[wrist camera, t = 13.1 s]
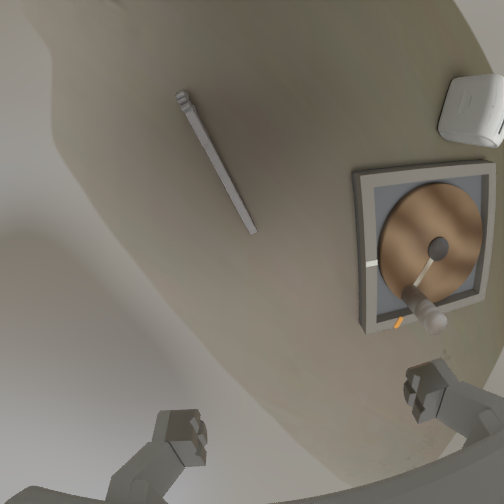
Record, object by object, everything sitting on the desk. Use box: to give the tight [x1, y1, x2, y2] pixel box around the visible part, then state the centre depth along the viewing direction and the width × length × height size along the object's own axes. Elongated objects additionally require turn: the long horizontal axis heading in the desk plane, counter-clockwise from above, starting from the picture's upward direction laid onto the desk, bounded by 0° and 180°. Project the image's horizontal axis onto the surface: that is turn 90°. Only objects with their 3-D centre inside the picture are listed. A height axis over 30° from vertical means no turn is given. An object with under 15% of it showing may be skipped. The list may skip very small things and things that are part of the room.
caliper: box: [175, 90, 258, 234], centre depth 37 cm, size 20×1×6 cm, turn 25°
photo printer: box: [438, 74, 504, 148], centre depth 32 cm, size 10×4×12 cm, turn 160°
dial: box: [377, 182, 483, 335], centre depth 39 cm, size 19×19×11 cm
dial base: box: [352, 160, 496, 334], centre depth 43 cm, size 24×24×3 cm
